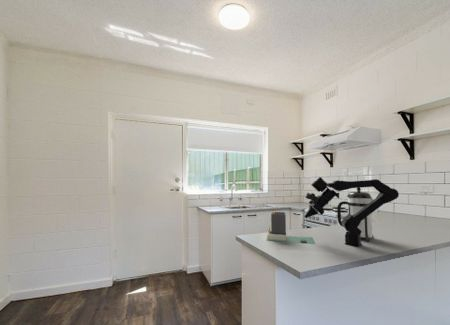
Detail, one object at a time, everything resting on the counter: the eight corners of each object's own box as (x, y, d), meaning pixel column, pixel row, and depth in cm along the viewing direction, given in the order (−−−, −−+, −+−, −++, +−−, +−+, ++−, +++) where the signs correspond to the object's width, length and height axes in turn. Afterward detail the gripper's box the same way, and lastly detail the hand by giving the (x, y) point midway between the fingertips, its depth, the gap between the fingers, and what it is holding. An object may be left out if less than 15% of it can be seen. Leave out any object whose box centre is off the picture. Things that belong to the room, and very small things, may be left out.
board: (312, 238, 133) (312, 227, 134) (315, 245, 120) (315, 233, 120) (267, 235, 140) (267, 225, 140) (266, 242, 126) (266, 230, 126)
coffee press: (366, 234, 143) (364, 186, 144) (381, 241, 127) (378, 188, 129) (337, 233, 144) (336, 186, 146) (348, 240, 128) (346, 188, 130)
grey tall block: (285, 237, 133) (285, 211, 134) (285, 239, 128) (285, 213, 129) (271, 236, 135) (271, 211, 136) (271, 238, 130) (271, 212, 131)
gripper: (311, 186, 137) (293, 204, 139) (316, 188, 119) (295, 209, 121) (326, 199, 135) (307, 218, 137) (333, 204, 117) (311, 224, 119)
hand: (305, 217), depth 129 cm, fingers closed
